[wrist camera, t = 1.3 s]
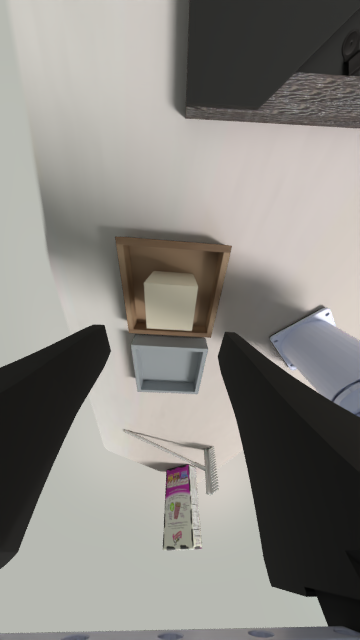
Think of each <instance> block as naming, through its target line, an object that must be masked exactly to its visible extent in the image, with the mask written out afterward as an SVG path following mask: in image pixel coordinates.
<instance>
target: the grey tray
mask: <svg viewBox="0 0 360 640" xmlns="http://www.w3.org/2000/svg"><path fill="white" fill-rule="evenodd" d="M131 350H132V357H133V363H134V370H135V377H136V384H137V391H138V392H159V393H183V394H198V391H199V387H200V382H201V378H202V374H203V369H204V365H205V361H206V356H207V352H208V347H207V343H206V339H205V338H189V337H171V336H153V335H135V337H134V339H133V341H132V344H131Z"/></svg>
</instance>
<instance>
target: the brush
mask: <svg viewBox="0 0 360 640" xmlns="http://www.w3.org/2000/svg"><path fill="white" fill-rule="evenodd" d="M124 432H125V433H128V434H130V435H132V436H134V437H136V438H138V439H140V440H142V441H144V442H146V443H149V444H151V445H153V446H155V447H157V448H159V449H161V450H163V451H165V452H167V453H170V454H172V455H174V456H176V457H178V458H180V459H182V460H184V461H186V462H189V463H191V464H193V465H194V466H196V467H198V468H200V469H202V470H204V471H205V476H206V493H207V494H208V495H211V494H213V493H214V492H216V491H217V490H219V488H217V487H218V485H216V484H218V482H216V481H218V479H216V478H218V477H217V476H216V475H217V474H215V473H216V472H217V471H215V470H217V469H216V466H215V465H216V463H215V462H216V461H214V460H216V459H214V458H215V454H214V453H215V452H214V451H215V450H213V449H214V448H213V447H214V446H213V447H211V448H210V449H204V459H205V466H203V465H201V464H199V463H197V462H193V461H191V460H189V459H187V458H185V457H183V456H181V455H179V454H176V453H174V452H172V451H170V450H168V449H166V448H164V447H162V446H160V445H158V444H156V443H153V442H151V441H149V440H147V439H145V438H143V437H141V436H139V435H137V434H135V433H133V432H130V431H128V430H124ZM212 450H213V451H212ZM212 452H213V453H212ZM211 453H212V454H211ZM210 456H211V457H210ZM213 456H214V457H213ZM212 457H213V458H212ZM211 460H212V461H211ZM213 461H214V462H213ZM212 462H213V463H212ZM214 463H215V464H214ZM211 465H212V466H211ZM213 466H214V467H213ZM212 467H213V468H212ZM214 468H215V469H214ZM213 469H214V470H213ZM214 471H215V472H214ZM214 474H215V475H214ZM212 475H213V476H212ZM215 476H216V477H215ZM213 477H215V478H213ZM212 478H213V479H212ZM215 479H216V480H215ZM213 480H214V481H213ZM212 481H213V482H212ZM215 482H216V483H215ZM213 483H215V484H213ZM212 484H213V485H212ZM215 485H216V486H215ZM214 486H215V487H214ZM212 487H213V488H212ZM215 488H217V489H215ZM214 489H215V490H214Z"/></svg>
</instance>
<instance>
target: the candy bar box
mask: <svg viewBox="0 0 360 640" xmlns="http://www.w3.org/2000/svg"><path fill="white" fill-rule="evenodd" d="M200 531H201V530H200V518H199V506H198V492H197V479H196V468H195V467H194V466H191V465H189V464H188V465H184V466H180V467H176V468H173V469H169V470H167V473H166V494H165V514H164V538H163V550H192V549H201V548H202V542H201V532H200Z"/></svg>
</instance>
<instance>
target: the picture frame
mask: <svg viewBox="0 0 360 640" xmlns="http://www.w3.org/2000/svg"><path fill="white" fill-rule="evenodd" d="M186 118H188V119H205V120H223V121H240V122H258V123H275V124H292V125H310V126H327V127H345V128H360V0H190V7H189V36H188V64H187V93H186Z"/></svg>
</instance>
